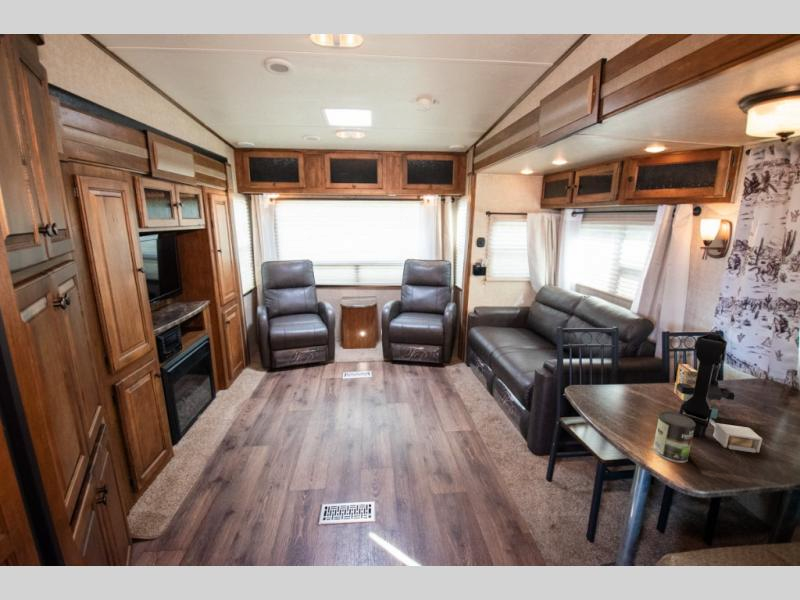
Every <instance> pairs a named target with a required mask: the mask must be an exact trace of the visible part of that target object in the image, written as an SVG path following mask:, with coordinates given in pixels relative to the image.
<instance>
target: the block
mask: <svg viewBox="0 0 800 600" xmlns="http://www.w3.org/2000/svg"><path fill="white" fill-rule="evenodd" d="M752 442H753V440H752V439H749V438H742V437H735V436H729V438H728V443H727V444H728V445H736V446H743V447H749V448H752V447H751V446H752Z"/></svg>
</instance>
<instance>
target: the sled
mask: <svg viewBox="0 0 800 600" xmlns="http://www.w3.org/2000/svg"><path fill="white" fill-rule="evenodd" d="M710 409H712V413H711V418H710V422H709V424H711V425H712V426H713V427H714V428H715V425H716V423H717V422H715V420H716V419H717V417H718V412H719V409H718V408H715V407H710ZM714 419H715V420H714ZM707 420H708V418H707V419H706V421H707ZM726 448H728V449H730V450H735V451H741V452H749V453H755V454H756V453H757V452H756V449H755V448H752V447H751V448H749V447H743V446H736V445H728V444H727V447H726Z"/></svg>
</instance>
